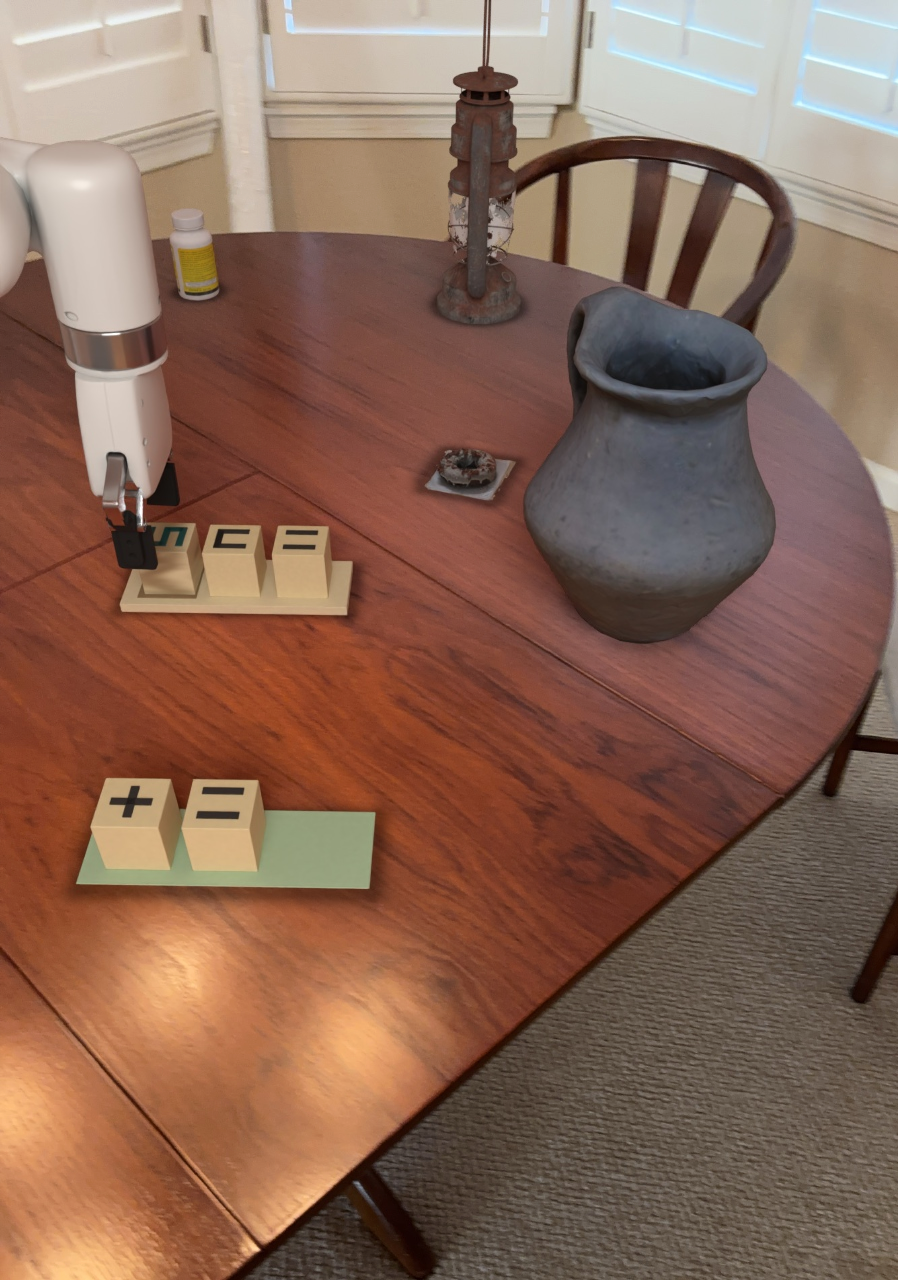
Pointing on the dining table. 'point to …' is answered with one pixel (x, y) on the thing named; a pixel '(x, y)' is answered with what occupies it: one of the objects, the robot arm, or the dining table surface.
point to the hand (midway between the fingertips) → (151, 534)
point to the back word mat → (257, 576)
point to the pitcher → (652, 468)
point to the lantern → (482, 196)
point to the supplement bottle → (193, 255)
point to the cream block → (174, 560)
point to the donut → (470, 473)
